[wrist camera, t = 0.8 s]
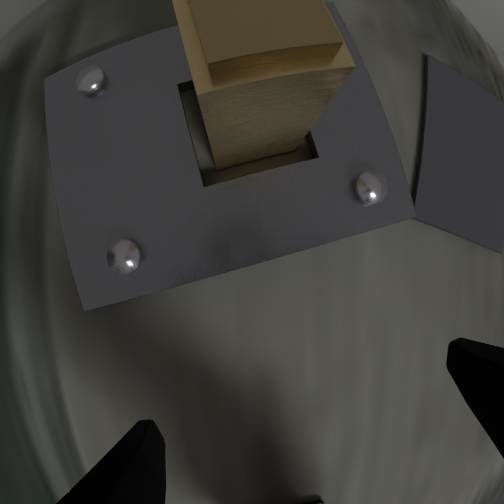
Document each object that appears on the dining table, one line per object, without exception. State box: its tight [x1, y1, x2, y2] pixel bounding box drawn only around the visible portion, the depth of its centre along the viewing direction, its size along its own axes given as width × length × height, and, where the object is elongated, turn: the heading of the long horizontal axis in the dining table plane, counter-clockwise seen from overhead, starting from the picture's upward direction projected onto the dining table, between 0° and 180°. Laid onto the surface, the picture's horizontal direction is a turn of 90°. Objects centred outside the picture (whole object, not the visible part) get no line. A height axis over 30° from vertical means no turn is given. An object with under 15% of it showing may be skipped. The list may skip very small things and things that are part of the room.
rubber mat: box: [412, 55, 504, 253], centre depth 20 cm, size 14×10×1 cm
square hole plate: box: [44, 2, 416, 312], centre depth 18 cm, size 17×22×2 cm
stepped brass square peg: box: [172, 0, 356, 171], centre depth 13 cm, size 5×5×12 cm
